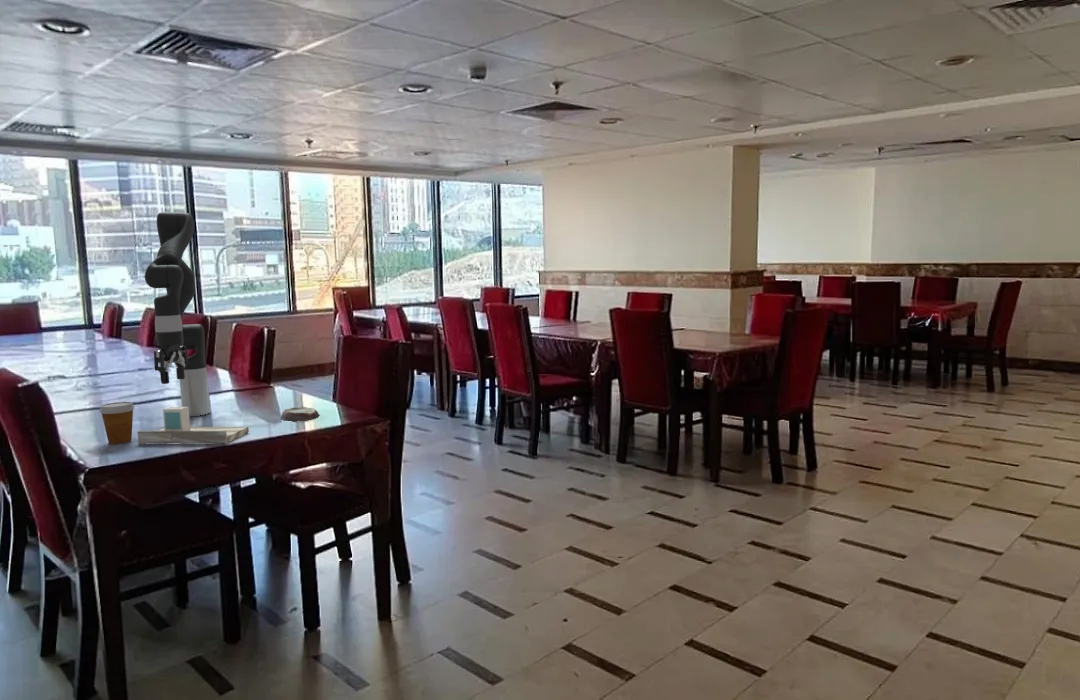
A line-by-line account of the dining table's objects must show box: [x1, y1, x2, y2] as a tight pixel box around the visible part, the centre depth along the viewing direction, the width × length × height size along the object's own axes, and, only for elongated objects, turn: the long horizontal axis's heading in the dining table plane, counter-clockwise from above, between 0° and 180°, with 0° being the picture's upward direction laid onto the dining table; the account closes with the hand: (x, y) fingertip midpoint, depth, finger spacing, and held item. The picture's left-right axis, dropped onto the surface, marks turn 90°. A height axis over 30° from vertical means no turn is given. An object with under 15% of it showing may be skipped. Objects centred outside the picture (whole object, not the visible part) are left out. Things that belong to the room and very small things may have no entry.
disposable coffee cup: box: [98, 401, 135, 445], centre depth 232 cm, size 10×10×12 cm
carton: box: [162, 406, 191, 431], centre depth 234 cm, size 6×4×8 cm
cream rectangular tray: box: [136, 426, 250, 445], centre depth 235 cm, size 15×28×4 cm, turn 85°
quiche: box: [279, 406, 321, 423], centre depth 264 cm, size 21×20×4 cm
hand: (173, 381), depth 233 cm, fingers open, 8 cm apart
